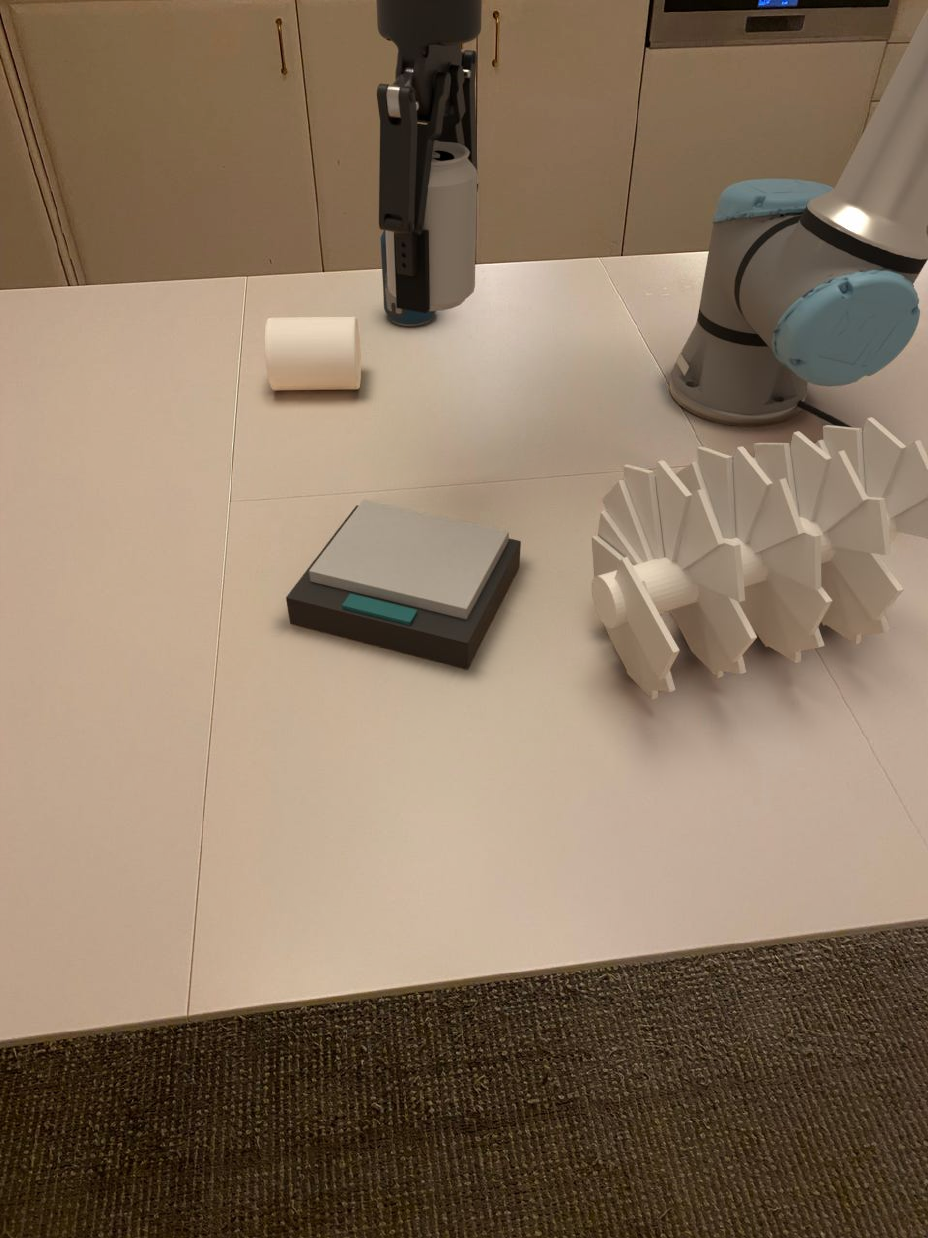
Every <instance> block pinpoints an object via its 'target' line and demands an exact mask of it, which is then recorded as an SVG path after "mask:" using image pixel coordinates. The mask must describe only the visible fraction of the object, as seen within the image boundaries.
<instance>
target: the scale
mask: <svg viewBox="0 0 928 1238" xmlns="http://www.w3.org/2000/svg"><path fill="white" fill-rule="evenodd" d="M509 533H510V531H509V530H506V529H502V528H497V527H493V526H487V525H484V524H478V523H474V522H469V521H466V520H465V521H464V520H460V519H455V518H450V517H447V516H446V517H445V516H441V515H437V514H431V513H427V512H423V511H419V510H418V511H417V510H414V509H410V508H409V509H408V508H404V507H399V506H395V505H390V504H387V503H386V504H385V503H381V502H376V501H372V500H367V499H362V501H360V503H359V504H357V505H355V507H354V508H353V509H352V510H351V512H350V513H349V514H348V515H347V517H346V518H345V519H344V521H343V522H342V523H341V525H340V526H339V527H338V528H337V530H336V531H335V533H334V534H333V535H332V537H331V538H329V541H327V543H326V544H325V545H324V547H323V548H322V549H321V551H320V552H319V554H318V555H317V556H316V557H315V559H314V560H313V561H312V562H311V564H310V565H309V567H307V569H306V570H305V572H304V573H303V574H302V576H300V578H299V580H298V581H297V582H296V583H295V585H294V586H293V588H292V589H290V592H289V593H288V594H287V595H286V597H285V601H286V606H287V614H288V619H289V624H290V625H293V626H297V627H300V628H304V629H309V630H313V631H316V632H320V633H323V634H328V635H332V636H336V637H340V638H343V639H346V640H351V641H355V642H359V643H362V644H366V645H371V646H373V647H378V648H381V649H382V648H383V649H386V650H390V651H392V652H393V651H394V652H398V653H400V654H401V653H402V654H405V655H409V656H414V657H417V658H421V659H424V660H429V661H434V662H436V663H440V664H444V665H448V666H452V667H456V668H459V669H463V670H469V668H470V666H471V664H472V662H473V660H474V659H475V656H476V654H477V652H478V651H479V648H480V646H481V644H482V643H483V641H484V639H485V637H486V635H487V632H488V631H489V628H490V627H491V624H492V622H493V621H494V618H495V617H496V615H497V612H498V611H499V609H500V607H501V605H502V603H503V601H504V599H505V597H506V595H507V593H508V591H509V589H510V587H511V585H512V583H513V581H514V579H515V577H516V575H517V573H518V571H519V569H520V566H521V548H522V547H521V546H522V541H521V540H519V539H518V540H517V539H514V538H510V537H509V536H510V534H509Z"/></svg>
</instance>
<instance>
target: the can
mask: <svg viewBox="0 0 928 1238" xmlns="http://www.w3.org/2000/svg"><path fill="white" fill-rule="evenodd" d="M436 151H446V152H449V153H451V154H452V155H454V159H452V160H447V161H438V160H435V159H434V158H440V154H438V153H436ZM469 154H470V152H469V150H468V149H467V148H466V147H465V146H463V145H461V144H459V143H453V142H440V141H437V140H435V141H434V145H433V154H432V162H431V170H430V178H429V184H428V194H427V202H426V210H425V218H424V226H423V229H424V230H429V280H430V310H429V311H436V312H442V311H447V310H451V309H454V308H456V307H459V306H460V305H462V304H463V303H465V301H466V299H468V298H469V297H470V296H471V295H472V294H473V293H474V292H475V288H476V253H477V251H476V249H477V208H478V207H477V205H478V204H477V203H478V201H477V200H478V192H477V184H478V174H477V171H478V169H477V170H476V169H475V167H474V166H473V165H472V163H471V162H470V161H469V160H468V156H469ZM385 233H386V257H387V280H388V289H389V292H390V293H391V294H392V295H393V296H394V297H396V281H395V253H394V232H392V231H386V230H385Z"/></svg>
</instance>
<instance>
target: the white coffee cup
mask: <svg viewBox="0 0 928 1238" xmlns="http://www.w3.org/2000/svg"><path fill="white" fill-rule="evenodd" d="M263 337H264V340H263V341H264V344H263V346H264V360H265V361H264V362H265V369H266V376H267V381H268V384H269V386H270V388H271V390H273V391H325V390H327V391H329V390H330V391H332V390H333V391H334V390H335V391H336V390H337V391H338V390H339V391H340V390H359V389H360V387H361V380H362V360H361V355H362V354H361V338H360V327H359V322H358V318H357V317H356V316H312V317H311V316H303V317H302V316H300V317H299V316H298V317H297V316H296V317H295V316H292V317H291V316H290V317H268V318H267V319H266V321H265V326H264V335H263Z"/></svg>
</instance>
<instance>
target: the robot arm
mask: <svg viewBox="0 0 928 1238" xmlns="http://www.w3.org/2000/svg"><path fill="white" fill-rule="evenodd" d="M375 2H376V23H377V25H376V26H377V32H378V34H379V35H380V36H381V37H382V38H383V39H385V40H386V41H388V42H392V43H393V44H394V45H395V46H396V48H397V54H396V55H397V57H396V66H395V76H394V77H395V78H394V79H395V80H394V82H393V83H392V84H388V83H379V84H378V86H377V89H376V101H377V107H378V108H377V110H378V117H379V169H378V170H379V175H378V227H379V229H380V231H384V230H386V231H392V232H394V253H395V281H396V308H399V309H405V310H410V311H416V312H421V313H427V312H428V311H429V310H430V280H429V230H424V229H423V226H424V218H425V210H426V202H427V194H428V184H429V178H430V170H431V162H432V154H433V145H434V141H435V140H437V141H440V142H453V143H459V144H461V145H463V146H465V147H466V148H467V149H468V150H469V152H470V154H469V156H468V160H469V161H470V162H471V163H472V165H473V166H474V167H475V169H476V170H477V175H478V174H479V173H478V172H479V171H478V140H477V139H478V138H477V137H478V136H477V110H476V109H477V108H476V107H477V106H476V77H477V76H476V75H477V62H478V55H477V51H476V50H473V49H462V44H466V43H469V42H473V41H474V40H476V39H477V38H478V37H479V36H480V34H481V31H482V9H483V8H482V5H483V3H482V2H483V0H376V1H375ZM436 153H438V154H440V158H434V159H435V160H438V161H447V160H452V159H454V155H452V154H451V153H449V152H446V151H436ZM478 191H479V183H477V193H478ZM715 209H716V210H715V213H714V217H713V218H712V221H711V223H712V229H711V234H710V240H709V247H708V253H707V259H706V265H705V270H704V277H703V283H702V289H701V295H700V301H699V306H698V308H699V309H698V313H697V318H696V322H695V325H694V327H693V329H692V331H691V333H690V334H689V336H688V338H687V340H686V341H685V344H684V346H683V348H682V349H681V351H680V353H679V355H678V357H677V359H676V360H675V363H674V364H673V367H672V369H671V373H670V378H669V380H670V381H669V392H670V394H671V396H672V398H673V399H674V400H675V402H676V403H677V404H679V405H680V406H681V407H682V408H683V409H684V410H687V411H688V412H689V413H692V414H693V415H695V416H698V417H700V418H703V419H706V420H709V421H711V422H716V423H720V424H724V425H729V426H736V427H737V426H738V427H762V426H763V427H765V426H772V425H775V424H779V423H783V422H786V421H788V420H791V419H792V418H794V417H796V416H797V415H798V414H799V413H800V412H801V411H802V410H803V411H806V412H807V413H810V414H811V415H813V416H815V417H817V418H819V419H821V420H824V421H825V422H828V423H829V424H831V425H832V426H841V427H851V428H854V427H853V426H851V425H849V424H848V423H846V422H845V421H842V420H841V419H838V418H836V417H835V416H832V415H831V414H829V413H827V412H825V411H823V410H821V409H819V408H817V407H816V406H813V405H810V404H809V403H807V402H805V401H806V398H807V394H808V385H809V384H812V385H815V386H821V387H840V386H847V385H850V384H853V383H857V382H858V381H859V380H861V379H862V378H864V377H871V376H873V375H875V374H877V373H878V372H879V371H881V370H883V369H884V368H886V367H887V366H888V365H889V364H891V363H892V362H893V361H894V360H895V359H896V358H897V357H898V356H899V355H900V354H901V353H902V352H903V351H904V350H905V348H906V347H907V346H908V344H909V343H910V341H911V339H912V338H913V336H914V335H915V332H916V330H917V328H918V325H919V322H920V321H919V320H920V316H921V310H920V308H919V304H920V298H919V295H918V292H917V290H916V287H915V285H914V283H915V282H916V280H917V279H918V277H919V276H920V274H921V272H922V270H923V268H924V267H925V266H926V264H927V263H928V233H927V232H928V7H927V9H926V10H925V13H924V14H923V16H922V18H921V20H920V22H919V24H918V25H917V28H916V30H915V31H914V34H913V36H912V38H911V39H910V42H909V43H908V45H907V47H906V49H905V51H904V53H903V55H902V57H901V59H900V61H899V62H898V64H897V66H896V69H895V71H894V72H893V75H892V76H891V78H890V81H889V82H888V84H887V85H886V88H885V90H884V91H883V94H882V95H881V97H880V100H879V101H878V104H877V105H876V107H875V109H874V111H873V113H872V115H871V117H870V118H869V120H868V123H867V125H866V127H865V129H864V131H863V132H862V135H861V136H860V138H859V140H858V142H857V144H856V147H855V148H854V150H853V151H852V154H851V156H850V158H849V159H848V162H847V164H846V165H845V167H844V169H843V171H842V173H841V175H840V177H839V179H838V181H837V183H836V185H835V187H833V186H830V185H828V184H825V183H821V182H818V181H811V180H803V179H794V178H759V179H758V178H757V179H749V180H748V179H747V180H743V181H738V182H735V183H733V184H731V185H728V186H727V187H726V188H725V189H724V190H723V191H722V192H721V194H720V195H719V198H718V202H717V207H716V208H715Z"/></svg>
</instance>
